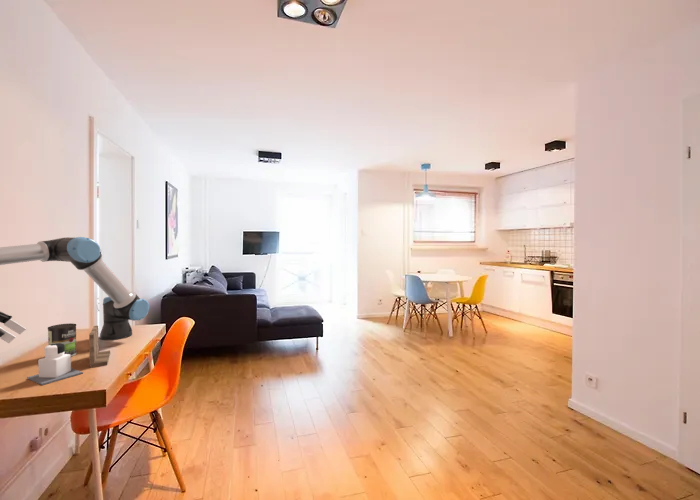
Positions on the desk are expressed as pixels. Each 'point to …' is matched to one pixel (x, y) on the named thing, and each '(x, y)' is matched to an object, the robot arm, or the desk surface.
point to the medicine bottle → (54, 361)
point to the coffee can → (63, 336)
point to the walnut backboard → (97, 350)
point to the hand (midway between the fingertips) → (18, 335)
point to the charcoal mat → (49, 380)
